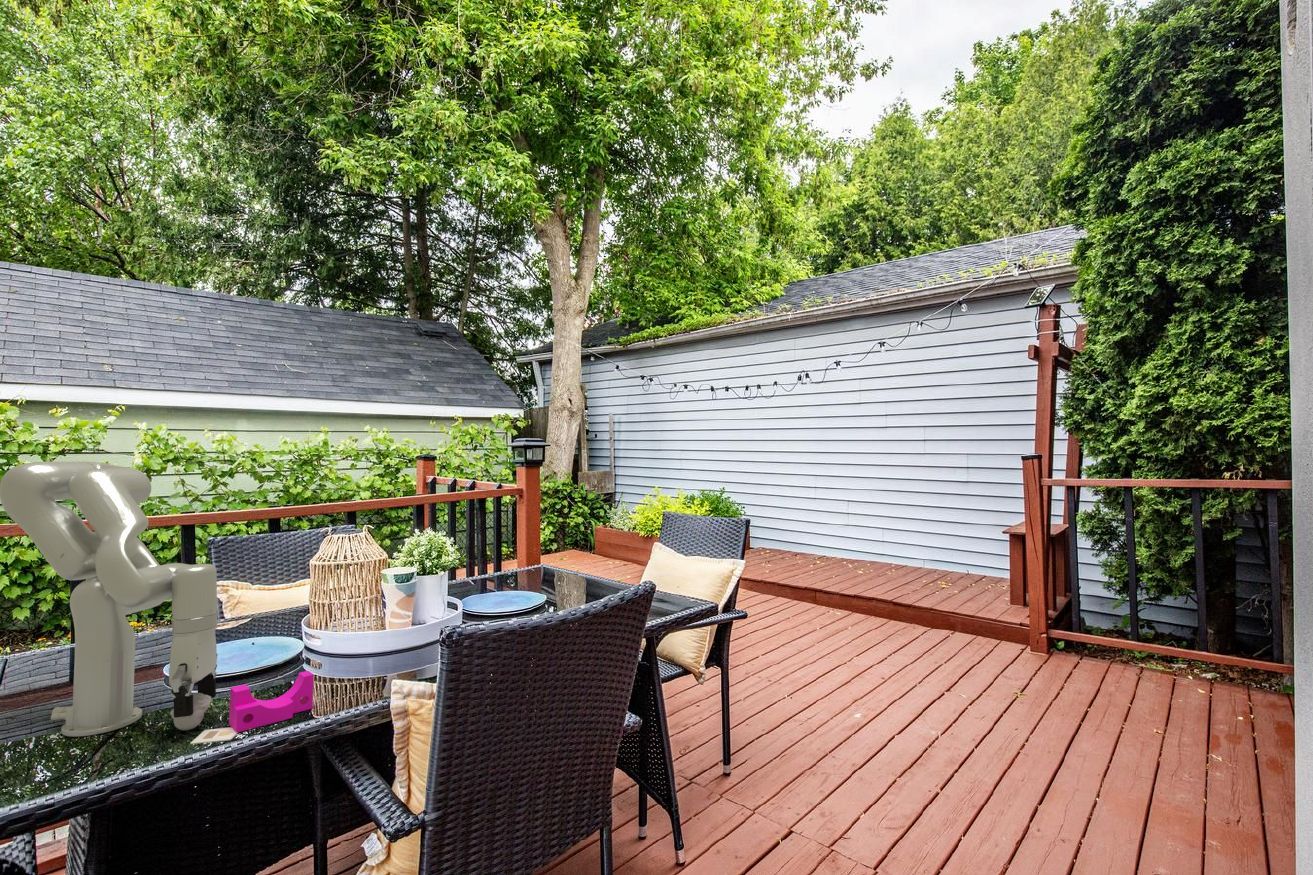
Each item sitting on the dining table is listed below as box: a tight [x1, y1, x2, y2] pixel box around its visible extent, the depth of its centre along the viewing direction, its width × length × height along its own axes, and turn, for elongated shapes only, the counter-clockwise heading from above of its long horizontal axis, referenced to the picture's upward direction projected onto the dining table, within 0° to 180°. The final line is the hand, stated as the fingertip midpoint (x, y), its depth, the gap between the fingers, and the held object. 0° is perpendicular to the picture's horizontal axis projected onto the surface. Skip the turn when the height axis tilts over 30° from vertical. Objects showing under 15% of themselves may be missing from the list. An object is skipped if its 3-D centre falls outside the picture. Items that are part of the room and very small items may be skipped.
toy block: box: [228, 670, 315, 734], centre depth 130 cm, size 15×6×8 cm, turn 137°
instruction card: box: [189, 726, 239, 745], centre depth 122 cm, size 7×6×1 cm
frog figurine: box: [169, 692, 212, 731], centre depth 125 cm, size 6×7×7 cm
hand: (195, 706), depth 125 cm, fingers open, 9 cm apart
